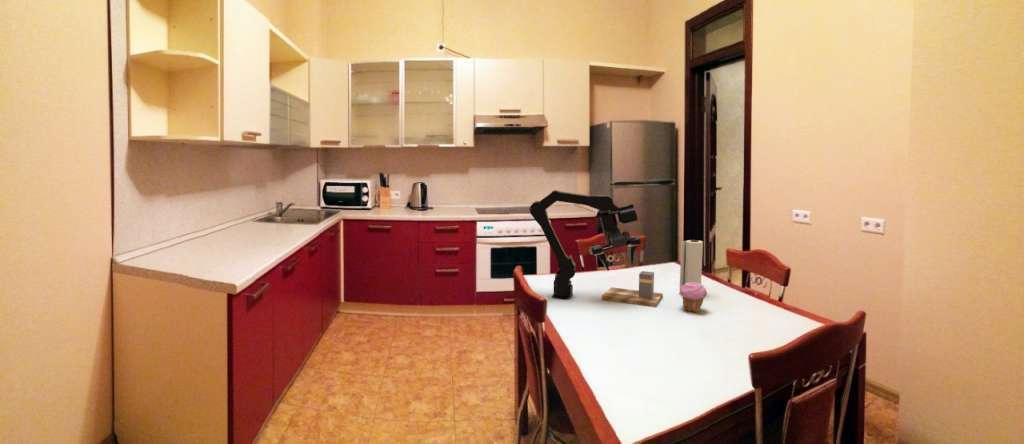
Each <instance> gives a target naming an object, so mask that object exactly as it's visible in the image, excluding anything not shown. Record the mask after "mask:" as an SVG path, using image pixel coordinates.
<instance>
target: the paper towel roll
mask: <svg viewBox="0 0 1024 444" xmlns="http://www.w3.org/2000/svg"><path fill="white" fill-rule="evenodd" d="M680 243H681V244H680V246H681V247H680V266H679V267H680V269H679V270H680V272H679V289H680V288H681V286H683V285H684V284H685V283H689V282H696V283H700V284H702V273H703V249H704V248H703V247H704V241H702V240H697V239H689V240H683V241H681V242H680ZM678 295H680V290H679V293H678ZM680 296H681V295H680Z"/></svg>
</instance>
